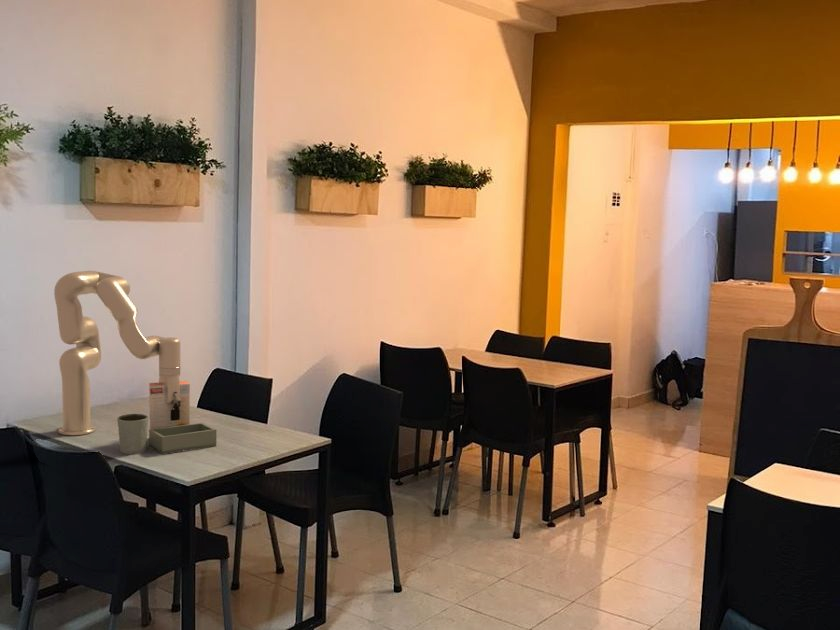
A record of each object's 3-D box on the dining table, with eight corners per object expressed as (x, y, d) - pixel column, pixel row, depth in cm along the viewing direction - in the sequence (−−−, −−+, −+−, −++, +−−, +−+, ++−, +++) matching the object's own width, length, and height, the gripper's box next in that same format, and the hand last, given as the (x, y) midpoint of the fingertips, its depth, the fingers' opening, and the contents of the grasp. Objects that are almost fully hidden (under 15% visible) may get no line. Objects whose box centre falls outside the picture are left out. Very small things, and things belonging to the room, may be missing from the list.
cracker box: (188, 435, 317) (188, 380, 314) (190, 439, 311) (190, 383, 309) (149, 437, 312) (149, 382, 309) (150, 442, 306) (150, 385, 304)
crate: (149, 446, 301) (149, 429, 300) (202, 438, 313) (202, 422, 312) (162, 454, 291) (162, 437, 291) (216, 445, 304) (216, 429, 303)
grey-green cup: (150, 446, 300) (150, 413, 299) (145, 454, 290) (145, 420, 289) (120, 446, 298) (120, 413, 297) (114, 454, 289) (114, 420, 287)
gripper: (150, 368, 313) (150, 414, 315) (169, 376, 300) (169, 423, 301) (170, 367, 318) (170, 411, 320) (189, 374, 304) (189, 421, 306)
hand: (169, 417), depth 310 cm, fingers open, 9 cm apart
